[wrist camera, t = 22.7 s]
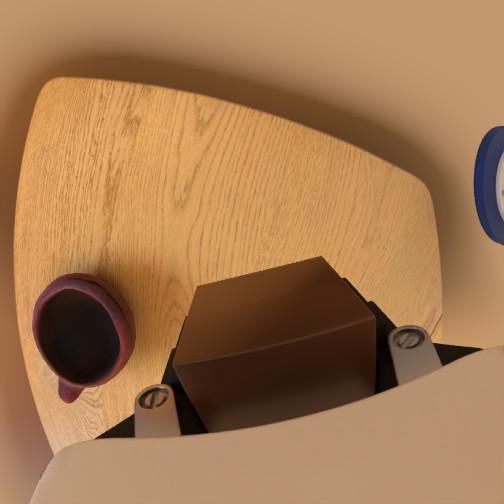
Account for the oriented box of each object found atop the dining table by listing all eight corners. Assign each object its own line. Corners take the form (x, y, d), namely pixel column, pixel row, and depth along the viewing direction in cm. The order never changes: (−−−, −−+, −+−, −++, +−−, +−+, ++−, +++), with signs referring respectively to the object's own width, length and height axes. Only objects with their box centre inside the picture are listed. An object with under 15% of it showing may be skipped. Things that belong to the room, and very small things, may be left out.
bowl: (47, 263, 29) (9, 287, 22) (135, 260, 30) (106, 289, 22) (78, 368, 34) (56, 403, 26) (159, 376, 34) (145, 419, 27)
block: (321, 255, 11) (376, 316, 6) (335, 355, 12) (373, 434, 8) (196, 285, 11) (171, 364, 6) (230, 380, 13) (229, 468, 8)
